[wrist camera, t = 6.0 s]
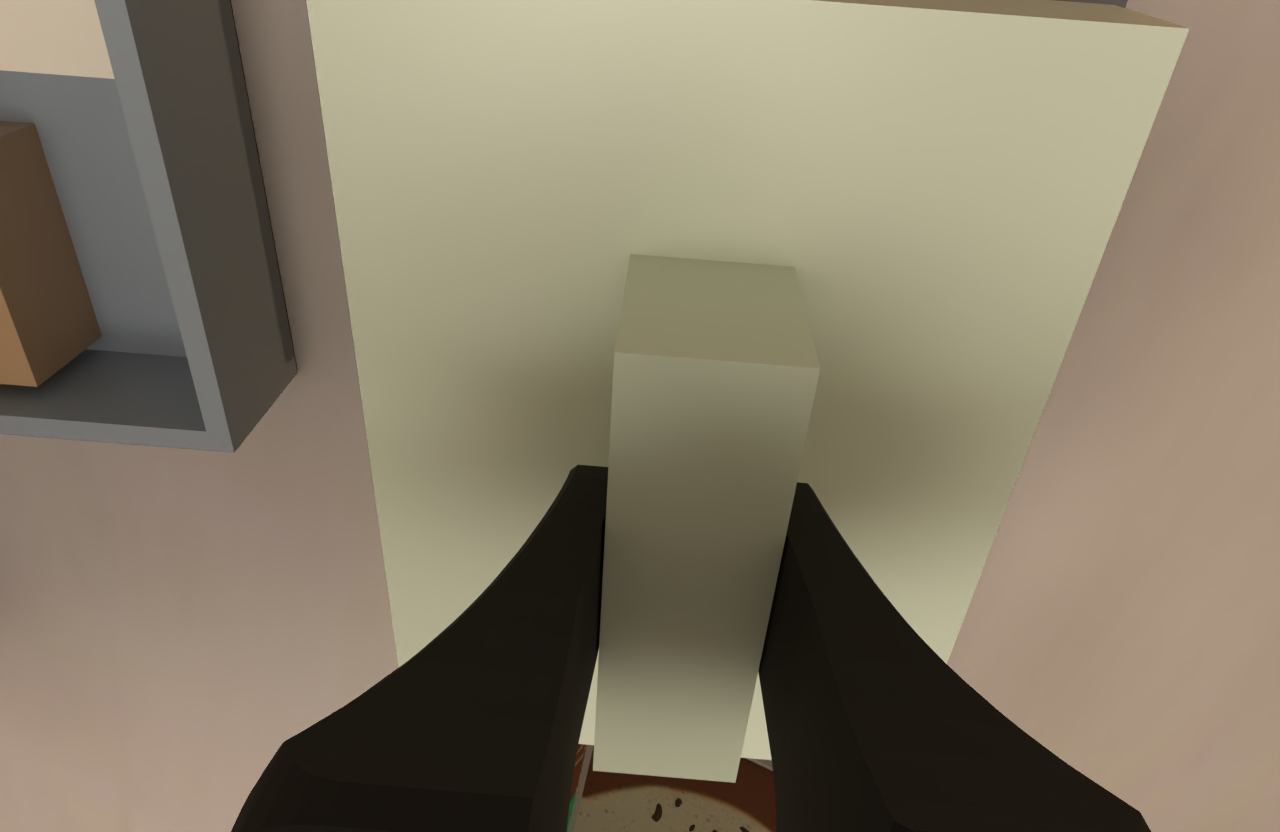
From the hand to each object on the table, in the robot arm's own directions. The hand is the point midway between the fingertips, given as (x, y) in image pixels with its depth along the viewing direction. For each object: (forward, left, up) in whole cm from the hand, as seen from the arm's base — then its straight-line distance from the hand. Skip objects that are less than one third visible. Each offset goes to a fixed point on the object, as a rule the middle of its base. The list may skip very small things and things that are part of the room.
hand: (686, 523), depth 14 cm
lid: (0, 0, -3) cm, 3 cm away
